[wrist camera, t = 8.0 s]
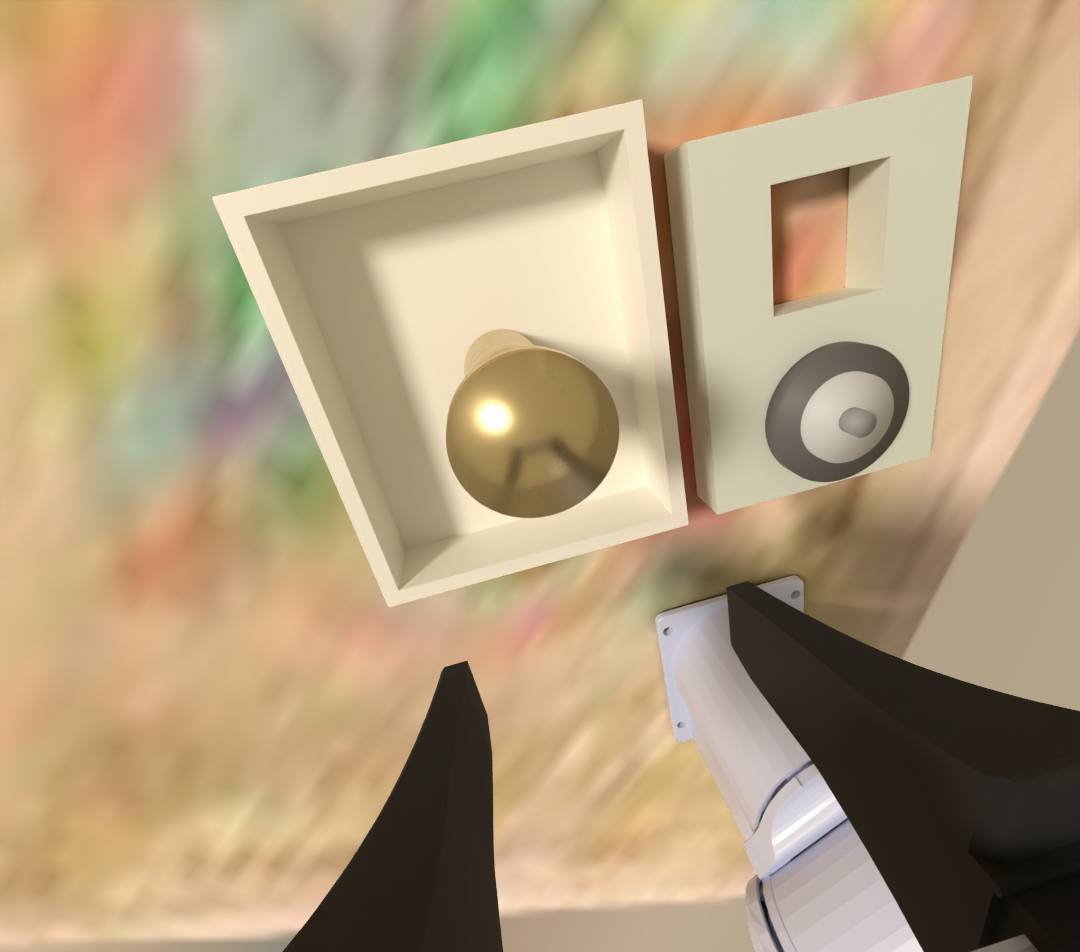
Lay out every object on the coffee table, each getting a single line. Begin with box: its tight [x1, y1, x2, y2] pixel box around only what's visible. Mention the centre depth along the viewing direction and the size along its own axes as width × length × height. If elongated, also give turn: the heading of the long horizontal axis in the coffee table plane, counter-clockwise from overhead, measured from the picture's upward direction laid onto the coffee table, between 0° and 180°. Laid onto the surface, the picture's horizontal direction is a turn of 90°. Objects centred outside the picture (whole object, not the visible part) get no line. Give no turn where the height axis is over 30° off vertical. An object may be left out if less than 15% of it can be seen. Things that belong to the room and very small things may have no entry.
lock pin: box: [446, 329, 620, 518], centre depth 15 cm, size 4×4×9 cm
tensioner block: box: [664, 75, 973, 515], centre depth 19 cm, size 14×10×4 cm
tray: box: [212, 99, 689, 607], centre depth 18 cm, size 14×12×4 cm
